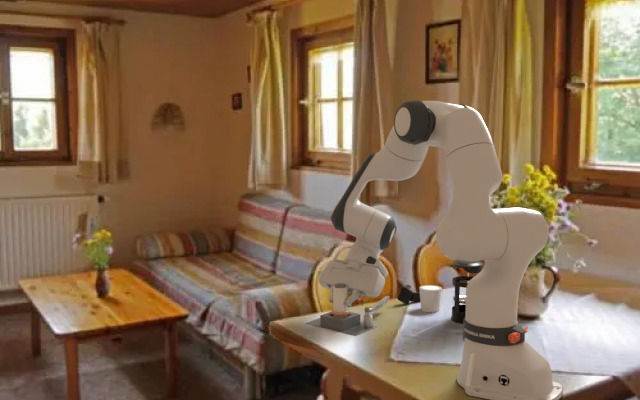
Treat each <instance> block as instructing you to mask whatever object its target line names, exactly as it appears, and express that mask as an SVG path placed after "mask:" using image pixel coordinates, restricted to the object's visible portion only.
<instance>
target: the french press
mask: <svg viewBox="0 0 640 400" xmlns="http://www.w3.org/2000/svg"><path fill="white" fill-rule="evenodd" d="M452 265H453V270H456V269H460V268H461V269H463V270H464V272H466V273H467V275H460V276H459V275H458V276H454V277H453V278H452V279H451V281H452V283H451V284H452V285H453V286H454V296H453V297H452V298H453V301H454V306H452V307H451V316H450V320H451V321H452V322H454V323H457V324H461V325H463V321H464V318H465V313H466V294H460V293H461V288H465V289H466V287H467V285H468V283H469V281H470V280H471V279H472V278H473V277H474V276H471V275H470V274H472V275H473V274H479V273H480V272H481V270H482V269H483V267H484V266H485V263H484V262H483V261H470V262H468V261H460V260H454V261H453V262H452ZM462 281H464V282H462ZM465 281H467V282H465Z"/></svg>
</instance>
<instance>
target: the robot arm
mask: <svg viewBox="0 0 640 400" xmlns="http://www.w3.org/2000/svg"><path fill="white" fill-rule="evenodd" d="M430 147H433V148H443V151H444V156H445V160H446V164H447V168H448V172H449V176H450V181H451V187H452V201H451V204H450V207H449V208H448V211H447V213H446V214H445V215H444V216H443V217H442V218H441V220H440V222H439V224H437V225H438V226H437V228H436V243H437V246H438V248H439V250H440V252H441V253H442V255H443V256H444V257H446V258H447V259H448V260H449V259H450V260H454V261H458V260H460V261H468V262H470V261H480V262H482V261H485V263H484V266H483V269H482V270H481V272H480V273H476V275H475V276H473V278H472V279H471V280H470V281H469V283H468V285H467V287H466V288H465V295H466V304H465V305H466V313H465V318H464V321H463V324H462V339H463V349H462V358H461V363H460V367H459V371H458V374H457V377H456V382H457V384H458V385H459V386H461V388H463V389H464V392H465V394H466V395H468V396H470V397H475V398H481V399H486V400H560V399H561V398H562V396H563V395H564V387H563V386H562V384H561V383H559V382H556V381H554V380H553V374H552V367H551V365H550V363H549V361H548V360H547V359H546V358H545V357H544V356H542V354H540V353H539V352H538V351H537V350H536V349H535V348H534V347H533V346H531V345H530V344H529V343H528V341H526V338H525V337H526V334H527V333H528V332H529V330H528V329H529V327H528V326H525V327H524V328H523V327H522V326H521V324H520V322H519V321H518V305H519V293H520V289H521V284H522V281H523V277H524V275H525V273H526V271H527V268H528V267H529V265H530V264H531V262H532V261H533V259H534V258H535V257H536V256H537V255H538V253H540V252H541V251H543V249H544V248H545V247H546V245H547V243H548V240H549V235H550V233H549V232H550V230H549V225H548V223H547V221H546V218H545V217H544V216H543V214H542V213H540V212H539V211H538V210H536V209H535V210H534V209H530V208H526V207H525V208H524V207H517V206H516V207H500V208H492V206H491V204H490V203H491V202H490V196H491V195H492V194H493V193H495V191H497V190H498V189H499V187H500V185H501V183H502V181H503V171H502V168H501V165H500V162H499V158H498V154H497V152H496V148H495V145H494V142H493V138H492V136H491V133H490V131H489V128H488V126H487V125H486V123H485V121H484V119H483V116H482V115H481V114H480V112H478V111H477V110H476V109H475V108H473V107H471V106H468V105H466V104H455V103H452V102H451V103H450V102H444V101H441V100H420V99H414V100H407V101H405V102H403V103H402V104H400V105H399V106H398V108H397V110H396V112H395V114H394V117H393V125H392V128H391V130H390V131H389V133H388V136H387V138H386V141H385V143H384V145H383V147H382V148H381V149H380V150H379V151H378V152H373V153H370V154H369V155H368V156H367V157H366V158H365V159H364V161H363V162H362V163H361V165H360V166H359V168H358V170H357V171H356V172H355V175H354V176H353V178H352V180H351V182H349V185H348V186H347V188H346V189H345V191H344V193H343V195H342V196H341V198H340V199H339V200H338V201H337V203H336V204H335V205H334V206H333V208H332V209H331V210H332V211H331V214H330V221H331V224H332V226H333V227H334V229H335V230H336V231H339V232H342V233H345V234H348V235H349V236H353V237H355V238H356V239H355V242H354V243H353V244H351V246H350V248H349V251H348V252H347V254H346V256H345V258H344V259H337V258H334V259H332V260H331V261H329V262H328V264H326V266H325V267H324V269H322V271H321V273H320V274H319V276H318V279H317V280H318V283H319V284H320V285H321V287H322V288H325V289H329V291H330V296H329V297H328V301H329V303H332V304H333V286H335V284H338V283H343V284H346V286H347V290H348V293H349V294H351V295H350V296H349V297H348V298H346V299H345V301H344V304H345V306H348V308H349V307H352V305H353V303H354V302H355V301H357V300H358V299H359V298H360V296H364V297H371V298H373V299H374V298H375V299H376V298H377V297H379V296H380V295H381V293H382V291H383V289H384V286H385V283H386V279H385V278H387V277H388V275H389V272H388V269H387V268H386V267H385V265H384V264H383V263H382V261H381V260H380V255H381V254H382V253H383V251H384V250H386V249H387V248H389V246H390V245H391V242H392V240H393V238H394V237H395V235H396V233H397V225H396V222H395V219H394V217H393V216H391V215H390V214H388V213H386V212H383V211H382V210H379V209H376V208H374V207H372V206H371V205H370V206H369V205H368V204H365V203H363V202H362V201H360V199H359V197H360V196H361V194H362V192H363V190H364V189H365V188H366V186H367V184H368V183H369V182H372V181H377V180H378V181H391V182H399V181H405V180H408V179H411V178H413V177H414V176H415V175H417V173H418V172H419V170H420V169H421V167H422V165H423V163H424V160H425V159H426V157H427V154H428V151H429V148H430Z"/></svg>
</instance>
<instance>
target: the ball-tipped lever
mask: <svg viewBox="0 0 640 400" xmlns="http://www.w3.org/2000/svg"><path fill="white" fill-rule="evenodd" d="M390 299H391V298H390V296H388V295H385V296H384V297H383V298H381V299H380V300H379V301H377V302H376V303H375V304H373V305H372V306H371V307H369V306H368V307H364V315H365V316H370V315H374V313H375V312H377V311H378V310H379V309H380V308H382V307H383V306H384V305H386V304H387V303H388V302H390Z"/></svg>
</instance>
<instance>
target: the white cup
mask: <svg viewBox="0 0 640 400" xmlns="http://www.w3.org/2000/svg"><path fill="white" fill-rule="evenodd" d="M419 293H420V302H419V303H420V310H421V311H422V312H426V313H437V312H439V311H440V309H441V301H442V294H443V287H441V286H439V285H435V284H434V285H433V284H432V285H431V284H424V285H421V286H419Z"/></svg>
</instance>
